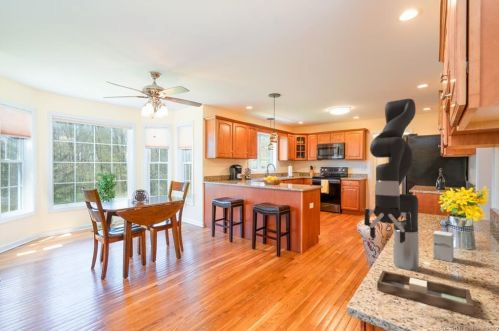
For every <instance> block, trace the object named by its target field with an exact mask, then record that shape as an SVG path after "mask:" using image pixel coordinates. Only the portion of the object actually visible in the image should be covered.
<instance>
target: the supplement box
mask: <svg viewBox="0 0 499 331" xmlns="http://www.w3.org/2000/svg"><path fill="white" fill-rule="evenodd" d="M432 238H433V239H432V241H433V242H432V245H433V246H432V251H433V252H432V253H433V255H432V256H433V259H437V260H441V261H447V262H450V263H452V262H453V260H454V233H453V232H448V231H440V230H434V231H433V233H432Z"/></svg>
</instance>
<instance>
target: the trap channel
mask: <svg viewBox="0 0 499 331" xmlns="http://www.w3.org/2000/svg"><path fill="white" fill-rule="evenodd" d="M410 278H415V279H419V280H424V281H427V293H424V292H420V291H416V290H412V289H409V281H410ZM376 285H377V287H376V288H377V291H379V292H381V293H382V292H383V293H385V294H389V295H392V296H397V297H401V298H404V299H408V300H413V301H415V302H420V303H422V304H427V305H431V306H434V307H437V308H442V309H445V310H449V311H453V312H456V313H460V314H462V315H463V314H464V315H467V316H471V317H475V305H474V301H473V299H472V298H473V297H472V295H471V291H470V288H469V289H468V288H464V287H460V286H454V285H451V284H445V283H442V282H438V281H437V282H436V281H432V280H427V279H423V278H420V277H419V278H418V277H414V276H410V275H405V274H401V273H397V272H392V271H387V270H382V271H381V274H380V276H379V278H378V279H377V284H376Z"/></svg>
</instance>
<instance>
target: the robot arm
mask: <svg viewBox="0 0 499 331" xmlns="http://www.w3.org/2000/svg"><path fill="white" fill-rule="evenodd" d="M416 109H417V108H416V103H415V100H414V99H413V98H405V99H404V98H403V99H398V100H397V99H396V100H390V101H387V103H386V104H385V107H384V116H385V123H386V124H385V126H383V127H384V128H383V129H382V132H380V133H378V135H376V136H375V137H374V139H373V140H372V141H371V143H370V147H369V151H370V154H371V155H372V156H373V157H375V158H377V159H381V158H382V159H383V158H388V159H387V160H388V161H387V162H386V163H381V164H377V166H375V185H374V209H370V208H366V209H365V210H364V221H363V222H364V223H363V224H364V225H365V226H366V227H369V236H370V237H371V238H372V240H374V239H376V227H375V226H376V225H377V224H379V222H380V223H383V224H385V223H387V224H390V225H391V224H393V242H394V243H393V246H392V247H393V248H392V251H393V265H394V267H395V268H396V269H401V270H406V271H410V272H414V273H416V272H417V273H418V272H419V271H420V263H419V262H420V256H419V254H420V253H419V250H420V249H419V247H420V246H419V199H418V196H417V195H415V194H407V193H406V194H405V193H400V190H401V189H400V186H401V184H402V182H403V181H404V179H405V178H406V177H407V176H408V174H409V173H410V171H411V169H412V167H413V163H414V162H413V161H414V160H413V149H412V148H411V146H410V145H409V143H408V142H407V141H406V140H405V139H404V138H403V136H404V133H405V130H406V128H407V127H408V126H409V125H410V124H411V122H412V121H413V119H414V118H415V115H416ZM373 214H374V216H375V217H376V218H375V219H374V220H372V222H370V218H371V216H372V215H373ZM401 216H402V217H403V220H399V218H400V217H401Z"/></svg>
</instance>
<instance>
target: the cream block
mask: <svg viewBox="0 0 499 331" xmlns="http://www.w3.org/2000/svg"><path fill="white" fill-rule="evenodd" d="M415 278H416V277H415ZM415 278H410V281H409V289H412V290H416V291H420V292H424V293H427V281H424V280H425V279H424V280H419V279H420V278H419V279H415Z"/></svg>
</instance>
